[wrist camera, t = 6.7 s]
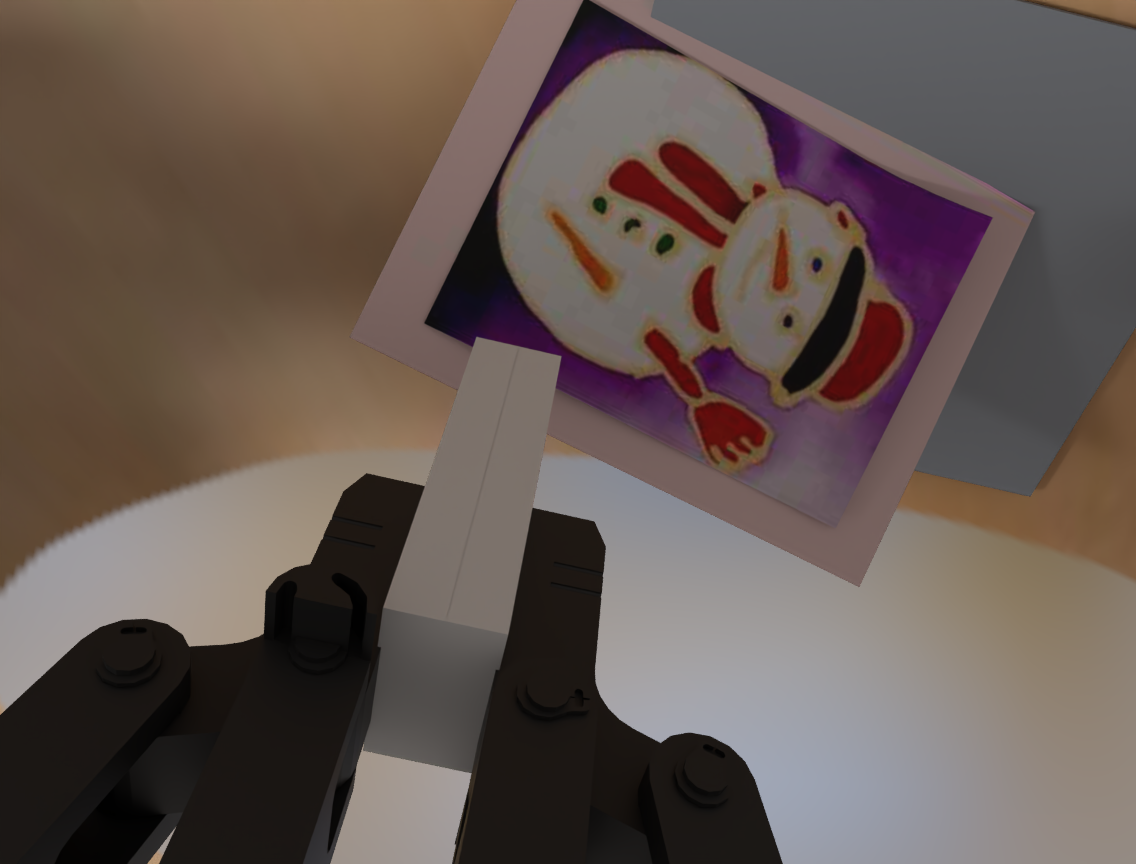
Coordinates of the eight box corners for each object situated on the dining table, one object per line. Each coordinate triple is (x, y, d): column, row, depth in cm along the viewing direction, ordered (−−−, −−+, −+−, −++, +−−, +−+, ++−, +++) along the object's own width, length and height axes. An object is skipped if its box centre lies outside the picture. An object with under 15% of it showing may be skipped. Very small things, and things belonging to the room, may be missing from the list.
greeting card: (557, -89, 24) (1056, 205, 26) (521, 25, 31) (913, 246, 33) (347, 335, 23) (874, 593, 26) (361, 349, 31) (770, 549, 33)
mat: (1026, 489, 33) (1030, 496, 32) (560, 383, 32) (558, 390, 32) (1288, 66, 25) (1295, 70, 24) (675, -88, 24) (675, -86, 24)
